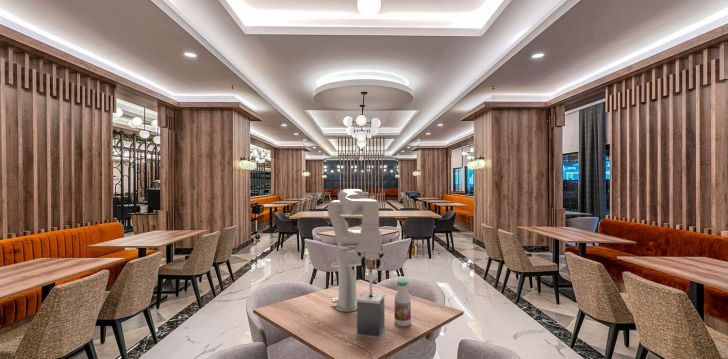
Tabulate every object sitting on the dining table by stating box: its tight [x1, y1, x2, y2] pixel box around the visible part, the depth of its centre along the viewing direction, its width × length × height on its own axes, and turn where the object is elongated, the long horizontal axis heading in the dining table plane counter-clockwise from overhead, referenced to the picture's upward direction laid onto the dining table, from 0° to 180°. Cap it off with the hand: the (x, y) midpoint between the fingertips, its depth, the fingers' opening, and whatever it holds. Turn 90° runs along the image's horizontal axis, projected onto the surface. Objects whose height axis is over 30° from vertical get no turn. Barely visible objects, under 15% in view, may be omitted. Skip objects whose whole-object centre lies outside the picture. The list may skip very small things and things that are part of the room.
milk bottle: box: [394, 279, 412, 327], centre depth 149 cm, size 8×8×20 cm
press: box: [356, 291, 386, 340], centre depth 141 cm, size 10×13×16 cm
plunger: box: [365, 257, 376, 297], centre depth 140 cm, size 8×8×20 cm
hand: (370, 267), depth 140 cm, fingers open, 5 cm apart
